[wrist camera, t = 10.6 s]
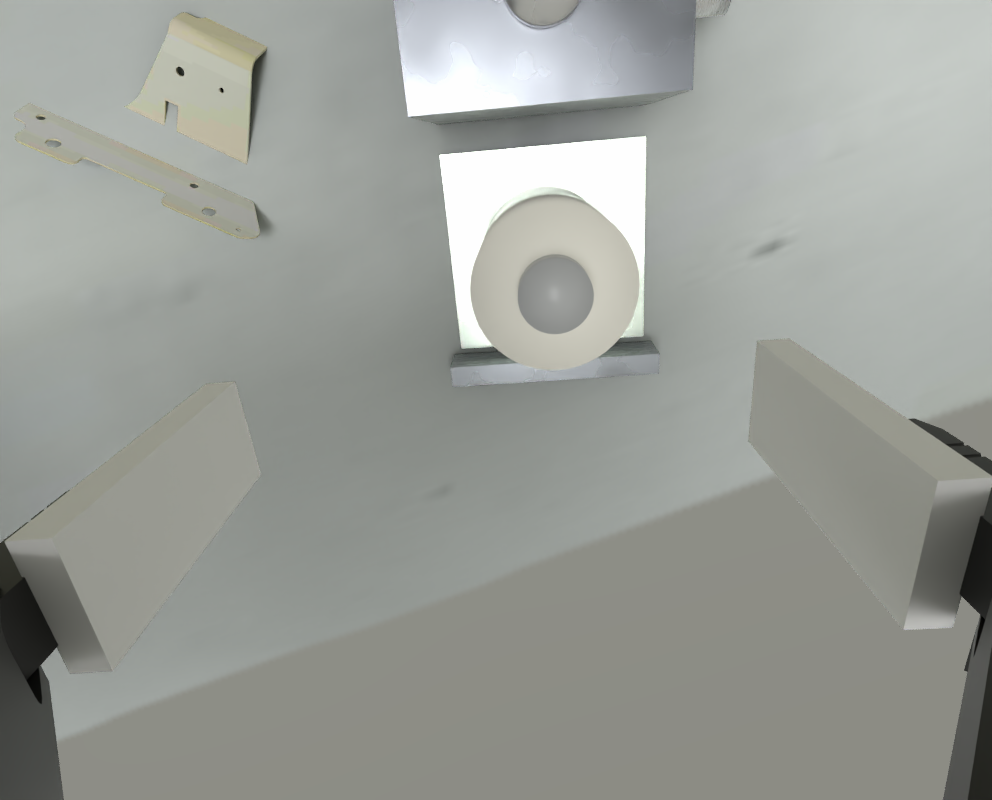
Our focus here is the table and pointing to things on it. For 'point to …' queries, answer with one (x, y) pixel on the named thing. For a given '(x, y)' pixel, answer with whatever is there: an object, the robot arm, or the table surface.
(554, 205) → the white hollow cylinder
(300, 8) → the table surface
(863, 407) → the robot arm
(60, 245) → the table surface
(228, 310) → the table surface
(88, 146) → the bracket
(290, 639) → the table surface
